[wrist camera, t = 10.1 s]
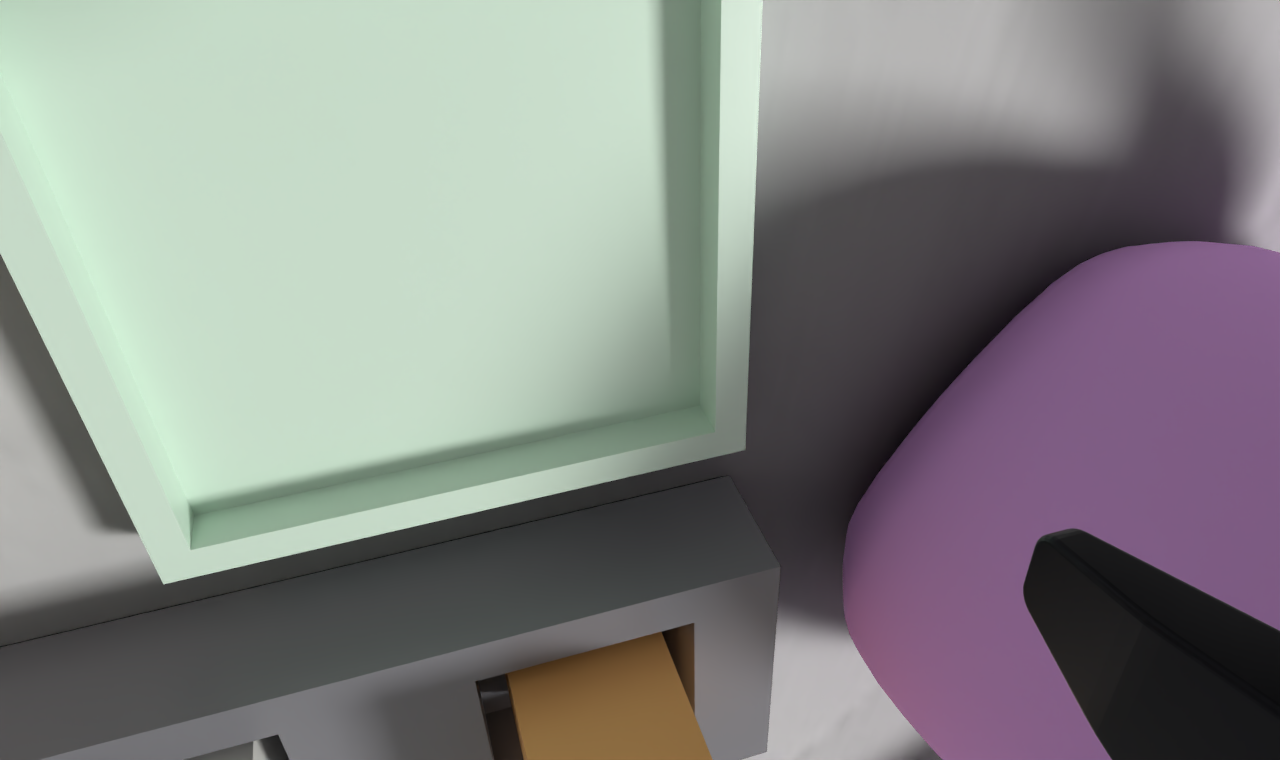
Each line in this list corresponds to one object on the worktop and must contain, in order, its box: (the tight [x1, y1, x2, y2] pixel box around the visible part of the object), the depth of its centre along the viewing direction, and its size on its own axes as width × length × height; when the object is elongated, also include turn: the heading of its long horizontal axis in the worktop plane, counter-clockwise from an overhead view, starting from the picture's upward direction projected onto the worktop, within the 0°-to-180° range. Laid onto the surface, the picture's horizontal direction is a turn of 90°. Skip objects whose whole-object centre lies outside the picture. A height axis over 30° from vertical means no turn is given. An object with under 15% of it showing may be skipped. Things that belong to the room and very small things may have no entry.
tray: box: [0, 0, 763, 584], centre depth 19 cm, size 14×14×2 cm
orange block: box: [505, 632, 712, 760], centre depth 24 cm, size 4×4×7 cm
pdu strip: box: [0, 476, 781, 760], centre depth 25 cm, size 20×8×4 cm, turn 92°
